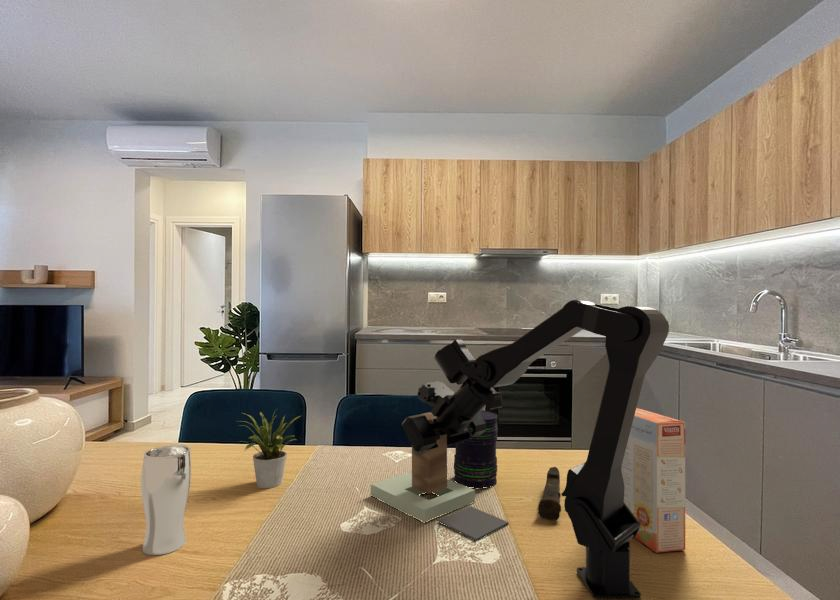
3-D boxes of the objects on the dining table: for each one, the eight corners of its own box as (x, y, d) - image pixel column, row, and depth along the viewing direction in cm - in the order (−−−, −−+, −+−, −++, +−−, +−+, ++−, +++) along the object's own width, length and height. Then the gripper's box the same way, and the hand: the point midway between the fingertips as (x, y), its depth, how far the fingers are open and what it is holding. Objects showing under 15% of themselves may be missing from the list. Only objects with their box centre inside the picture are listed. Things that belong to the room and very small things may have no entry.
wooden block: (447, 486, 89) (446, 416, 90) (429, 493, 86) (429, 420, 86) (429, 480, 93) (429, 412, 93) (411, 486, 89) (411, 416, 90)
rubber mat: (508, 524, 80) (508, 522, 80) (476, 541, 74) (476, 538, 74) (470, 508, 87) (470, 506, 87) (437, 522, 81) (437, 520, 81)
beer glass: (178, 530, 76) (180, 442, 77) (196, 544, 72) (199, 450, 72) (131, 546, 71) (135, 451, 71) (148, 562, 66) (152, 460, 67)
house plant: (212, 492, 92) (215, 413, 93) (252, 470, 106) (254, 400, 106) (274, 500, 89) (276, 418, 90) (307, 476, 102) (309, 404, 103)
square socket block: (474, 502, 89) (474, 489, 90) (424, 524, 80) (424, 509, 80) (420, 479, 101) (420, 468, 101) (370, 496, 92) (370, 484, 92)
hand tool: (560, 523, 81) (560, 498, 82) (537, 519, 83) (538, 494, 83) (567, 487, 99) (567, 466, 99) (548, 484, 100) (549, 463, 101)
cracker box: (688, 551, 72) (687, 420, 73) (655, 555, 71) (655, 422, 71) (630, 513, 86) (630, 403, 86) (602, 515, 84) (602, 404, 85)
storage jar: (459, 470, 108) (460, 408, 108) (500, 476, 104) (501, 411, 105) (448, 485, 98) (449, 417, 99) (492, 492, 95) (493, 421, 95)
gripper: (475, 366, 93) (437, 410, 101) (409, 373, 81) (371, 423, 88) (506, 410, 87) (463, 454, 95) (439, 425, 75) (396, 474, 82)
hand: (424, 449), depth 90 cm, fingers closed on wooden block, 5 cm apart
